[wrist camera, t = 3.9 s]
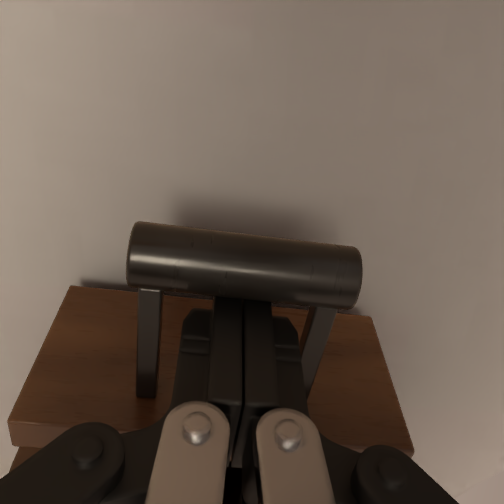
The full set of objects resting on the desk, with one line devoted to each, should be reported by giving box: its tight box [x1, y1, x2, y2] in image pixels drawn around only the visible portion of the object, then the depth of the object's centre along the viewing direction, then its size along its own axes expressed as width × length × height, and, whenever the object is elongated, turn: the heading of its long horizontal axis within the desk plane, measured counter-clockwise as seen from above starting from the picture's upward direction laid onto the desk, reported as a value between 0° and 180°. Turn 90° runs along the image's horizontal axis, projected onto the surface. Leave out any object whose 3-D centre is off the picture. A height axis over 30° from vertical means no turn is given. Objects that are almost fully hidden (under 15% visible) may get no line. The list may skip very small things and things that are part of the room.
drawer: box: [7, 221, 414, 504], centre depth 18 cm, size 20×12×6 cm, turn 171°
